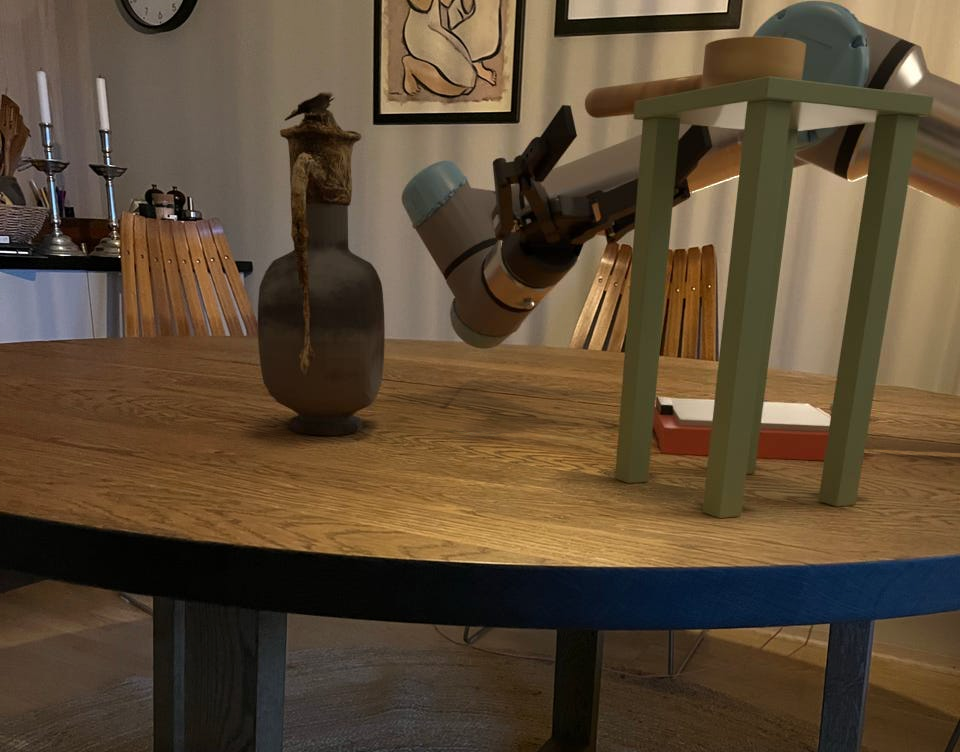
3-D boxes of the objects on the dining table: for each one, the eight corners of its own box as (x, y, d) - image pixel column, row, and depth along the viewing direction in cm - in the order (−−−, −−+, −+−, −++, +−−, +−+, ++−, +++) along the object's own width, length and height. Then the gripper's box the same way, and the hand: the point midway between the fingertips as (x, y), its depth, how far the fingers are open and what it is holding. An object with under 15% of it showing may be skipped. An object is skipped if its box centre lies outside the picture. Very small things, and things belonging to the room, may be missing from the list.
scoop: (819, 103, 74) (826, 45, 73) (757, 92, 70) (764, 31, 69) (617, 122, 89) (620, 74, 88) (556, 114, 85) (559, 64, 84)
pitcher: (390, 419, 111) (389, 106, 100) (364, 452, 93) (360, 76, 82) (289, 415, 111) (278, 103, 100) (244, 448, 93) (224, 73, 82)
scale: (815, 430, 112) (820, 398, 111) (857, 462, 96) (863, 425, 94) (649, 422, 114) (652, 391, 112) (662, 453, 97) (665, 416, 96)
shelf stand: (865, 506, 79) (934, 95, 69) (717, 520, 73) (768, 75, 63) (741, 467, 92) (783, 116, 81) (606, 477, 86) (634, 101, 76)
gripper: (642, 291, 111) (767, 175, 92) (427, 288, 101) (516, 158, 82) (628, 226, 112) (748, 98, 92) (413, 217, 102) (498, 71, 82)
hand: (640, 126), depth 87 cm, fingers open, 13 cm apart
